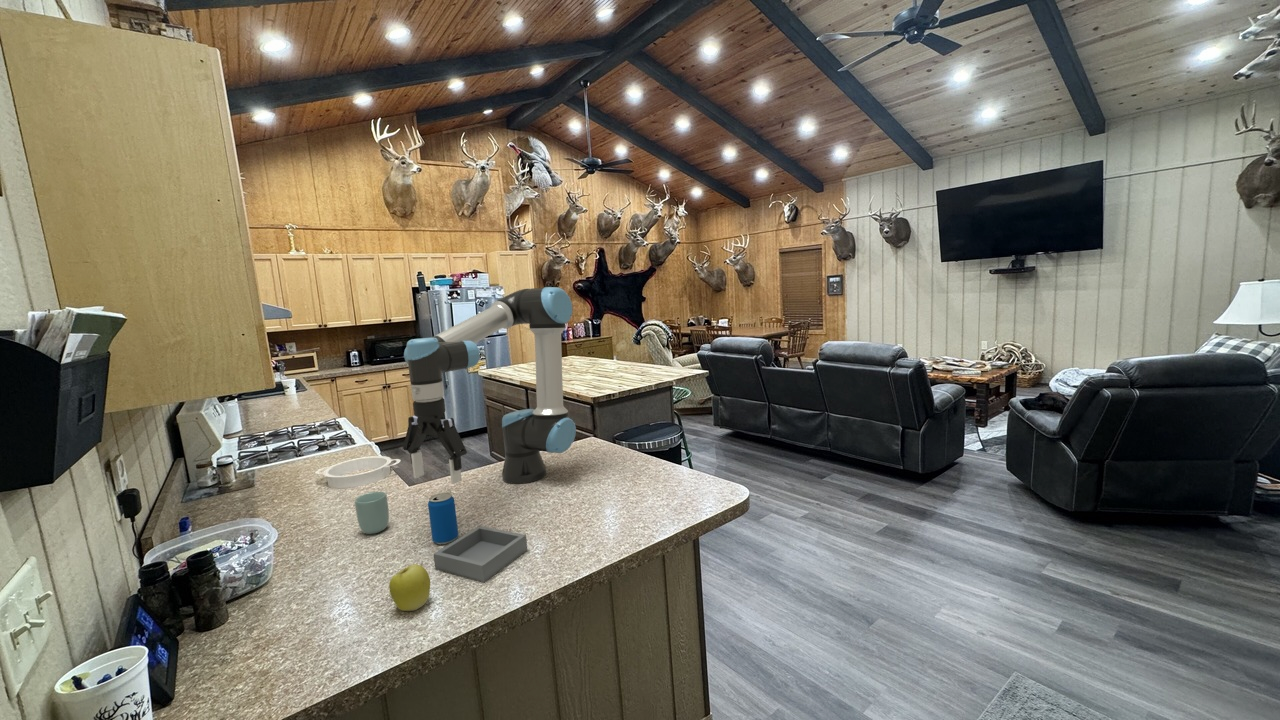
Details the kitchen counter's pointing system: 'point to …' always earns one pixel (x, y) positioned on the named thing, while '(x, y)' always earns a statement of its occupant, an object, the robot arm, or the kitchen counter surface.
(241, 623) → the kitchen counter surface
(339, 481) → the oval baking dish
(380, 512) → the cup
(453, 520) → the beverage can
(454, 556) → the bin
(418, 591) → the apple
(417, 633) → the kitchen counter surface
